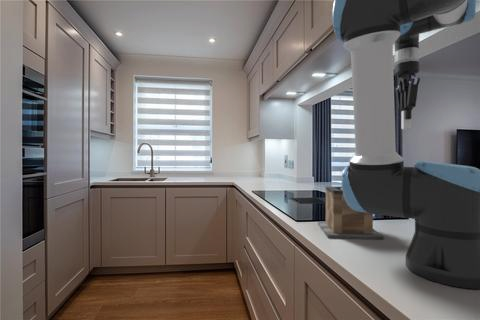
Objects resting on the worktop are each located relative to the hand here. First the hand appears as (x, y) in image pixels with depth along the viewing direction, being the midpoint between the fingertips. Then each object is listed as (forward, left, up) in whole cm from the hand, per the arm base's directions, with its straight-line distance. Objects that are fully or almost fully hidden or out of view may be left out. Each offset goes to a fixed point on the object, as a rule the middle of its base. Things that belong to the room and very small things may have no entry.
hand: (406, 128), depth 97 cm
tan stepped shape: (-12, +24, -34) cm, 44 cm away
